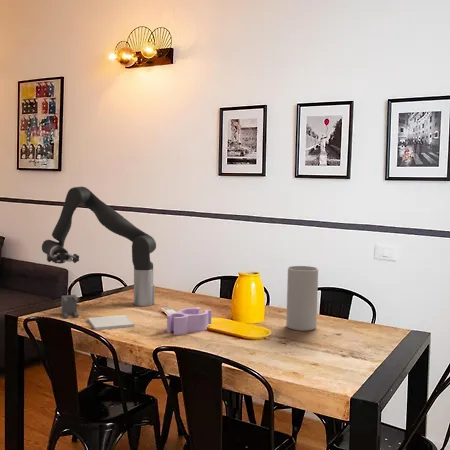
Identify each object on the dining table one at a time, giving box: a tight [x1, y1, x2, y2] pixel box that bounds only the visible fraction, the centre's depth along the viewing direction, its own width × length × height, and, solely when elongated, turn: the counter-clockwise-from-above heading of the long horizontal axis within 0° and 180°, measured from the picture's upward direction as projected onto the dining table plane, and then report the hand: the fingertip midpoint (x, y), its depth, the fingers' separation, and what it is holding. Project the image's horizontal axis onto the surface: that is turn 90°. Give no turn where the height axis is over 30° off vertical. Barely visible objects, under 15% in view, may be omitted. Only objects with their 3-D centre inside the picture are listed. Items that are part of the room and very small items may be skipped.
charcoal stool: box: [61, 294, 79, 319], centre depth 250 cm, size 6×10×8 cm, turn 23°
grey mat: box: [87, 314, 135, 331], centre depth 239 cm, size 16×16×1 cm
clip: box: [166, 306, 213, 336], centre depth 232 cm, size 20×12×7 cm, turn 139°
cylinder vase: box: [285, 265, 319, 332], centre depth 236 cm, size 12×12×25 cm
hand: (65, 261), depth 260 cm, fingers open, 8 cm apart
